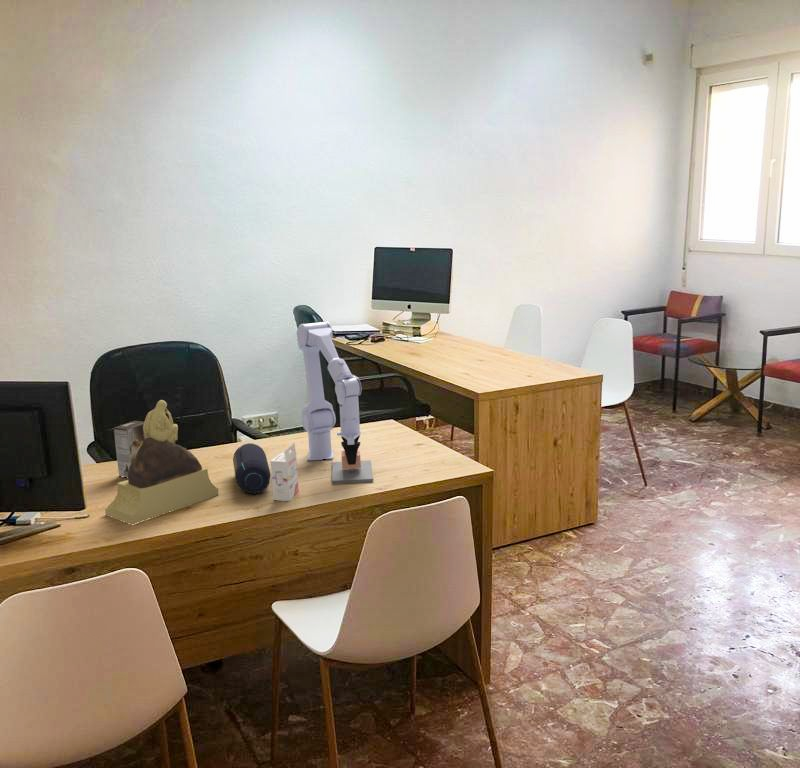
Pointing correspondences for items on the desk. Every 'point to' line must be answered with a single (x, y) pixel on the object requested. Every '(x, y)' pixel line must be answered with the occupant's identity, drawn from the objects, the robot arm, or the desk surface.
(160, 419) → the seated figure statue
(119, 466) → the coffee box
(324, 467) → the desk surface
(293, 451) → the ink cartridge box
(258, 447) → the portable speaker
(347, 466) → the collar
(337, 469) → the post base
